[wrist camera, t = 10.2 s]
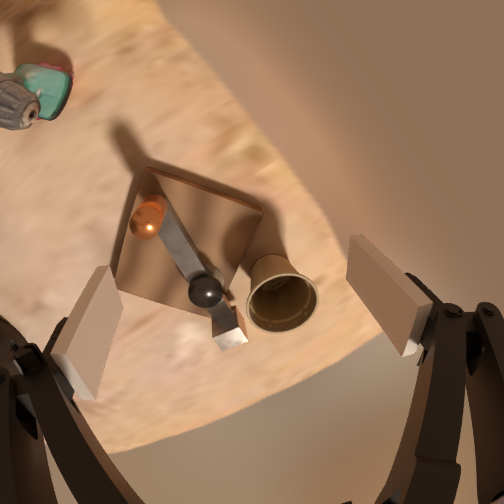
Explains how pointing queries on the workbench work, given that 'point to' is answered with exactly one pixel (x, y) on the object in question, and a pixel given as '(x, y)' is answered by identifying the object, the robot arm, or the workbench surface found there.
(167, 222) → the lever
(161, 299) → the board
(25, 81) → the power drill
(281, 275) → the flower pot
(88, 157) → the workbench surface
